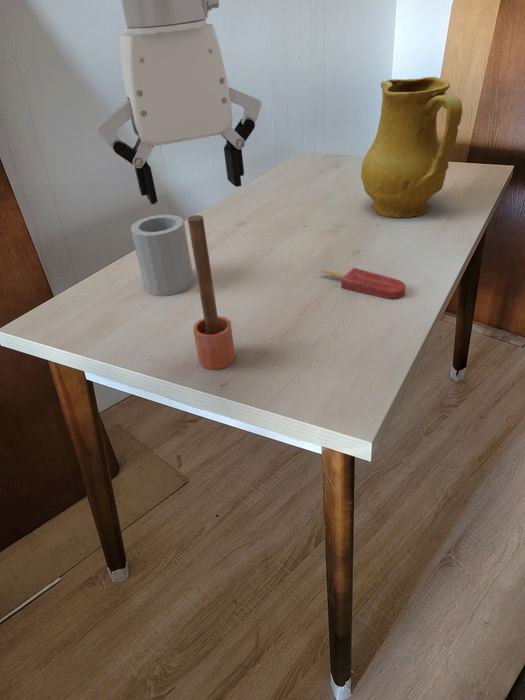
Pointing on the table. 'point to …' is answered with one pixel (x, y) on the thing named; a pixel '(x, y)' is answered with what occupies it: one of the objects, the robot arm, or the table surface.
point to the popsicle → (370, 283)
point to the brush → (204, 274)
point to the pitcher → (410, 146)
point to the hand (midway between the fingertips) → (194, 191)
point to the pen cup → (215, 345)
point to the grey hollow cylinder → (163, 254)
